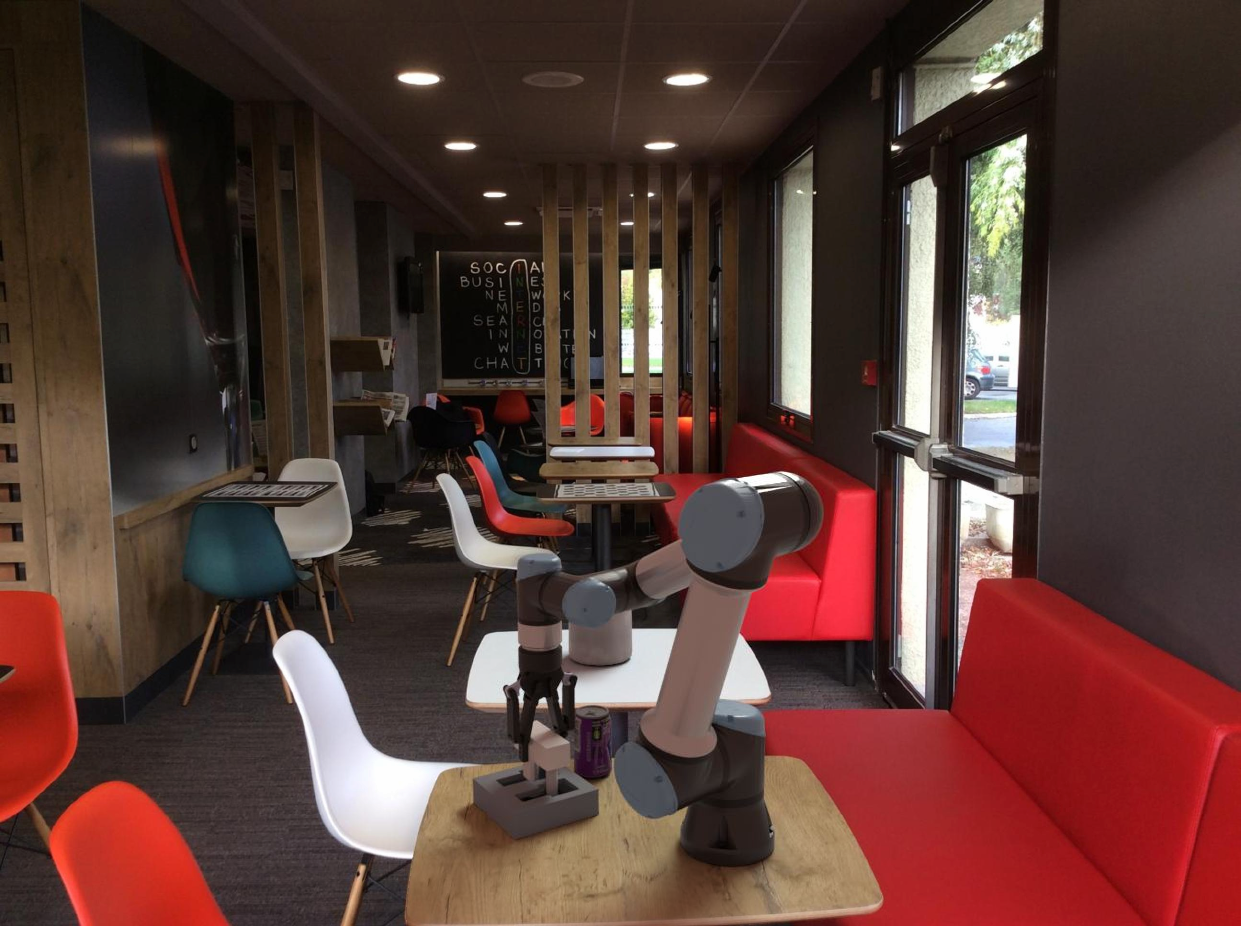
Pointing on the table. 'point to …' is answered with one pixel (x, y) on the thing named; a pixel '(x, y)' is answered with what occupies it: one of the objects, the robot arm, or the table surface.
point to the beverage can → (592, 741)
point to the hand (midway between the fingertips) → (542, 774)
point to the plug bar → (548, 756)
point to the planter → (602, 641)
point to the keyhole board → (533, 800)
